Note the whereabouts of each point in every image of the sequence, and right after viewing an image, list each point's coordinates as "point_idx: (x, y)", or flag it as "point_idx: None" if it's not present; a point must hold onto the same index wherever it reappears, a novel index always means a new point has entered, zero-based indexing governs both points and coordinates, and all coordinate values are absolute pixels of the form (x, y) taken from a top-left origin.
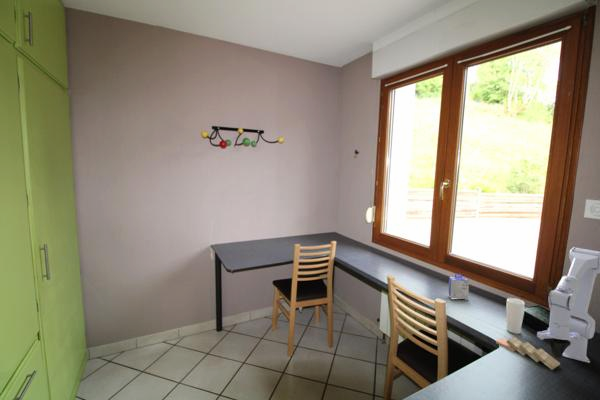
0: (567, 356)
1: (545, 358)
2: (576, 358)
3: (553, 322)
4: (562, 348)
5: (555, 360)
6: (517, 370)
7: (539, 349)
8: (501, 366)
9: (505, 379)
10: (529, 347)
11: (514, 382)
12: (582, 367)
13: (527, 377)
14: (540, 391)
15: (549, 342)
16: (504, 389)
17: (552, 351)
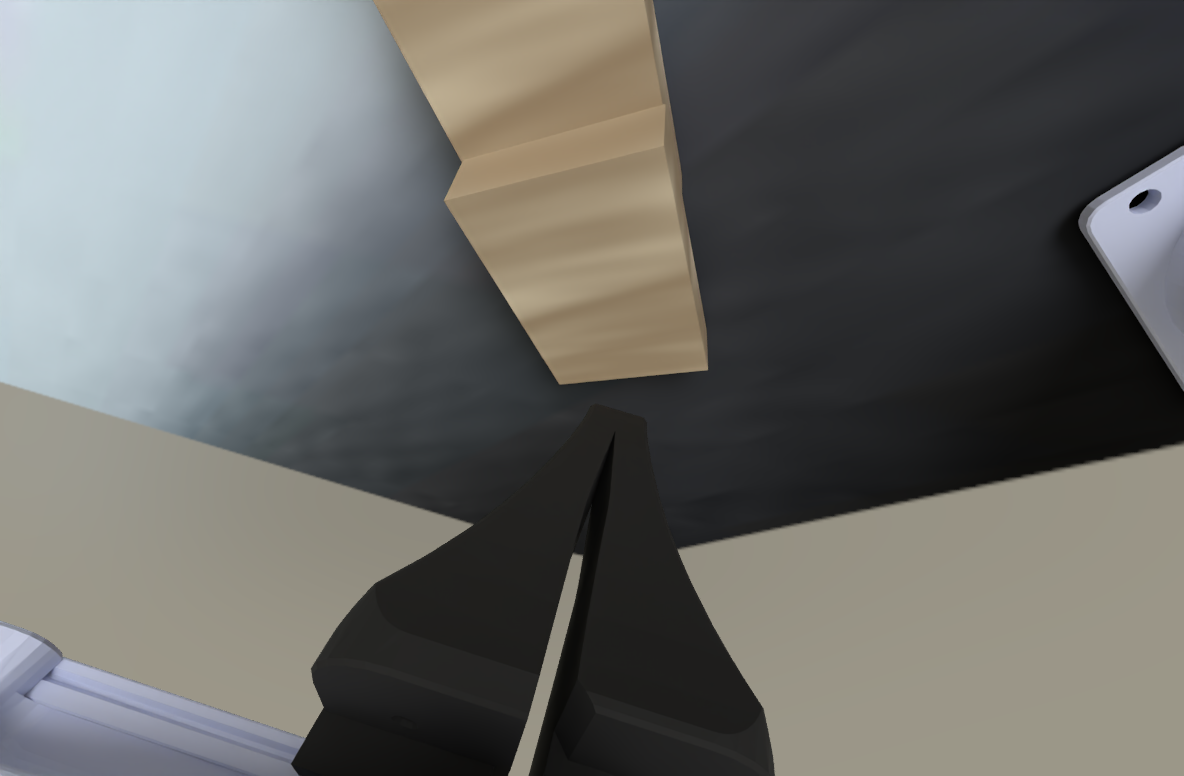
0: (1107, 255)
1: (551, 307)
2: (1162, 328)
3: None
4: (563, 645)
5: (681, 342)
6: (220, 255)
7: (597, 173)
8: (80, 160)
9: (86, 310)
10: (511, 6)
11: (145, 351)
12: (962, 419)
13: (266, 345)
14: (283, 451)
15: (476, 528)
16: (63, 374)
17: (577, 431)
